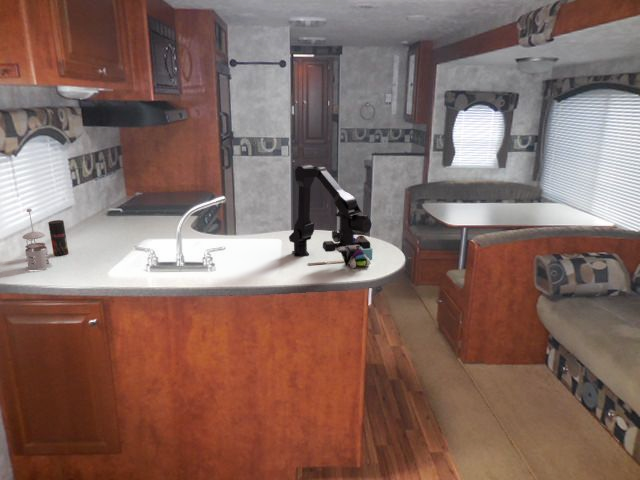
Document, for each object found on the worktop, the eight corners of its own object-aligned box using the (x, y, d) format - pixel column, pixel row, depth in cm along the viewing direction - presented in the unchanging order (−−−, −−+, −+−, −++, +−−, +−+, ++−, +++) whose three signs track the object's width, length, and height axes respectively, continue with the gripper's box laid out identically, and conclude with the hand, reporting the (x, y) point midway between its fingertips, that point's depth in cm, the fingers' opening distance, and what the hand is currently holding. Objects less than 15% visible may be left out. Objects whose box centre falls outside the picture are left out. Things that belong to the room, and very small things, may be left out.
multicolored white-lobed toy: (364, 260, 213) (364, 244, 211) (371, 268, 204) (372, 251, 202) (345, 262, 211) (345, 246, 209) (352, 270, 202) (352, 253, 200)
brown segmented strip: (307, 264, 209) (307, 263, 209) (360, 259, 214) (360, 258, 214) (308, 265, 207) (308, 264, 207) (362, 260, 212) (362, 260, 212)
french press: (31, 273, 200) (20, 212, 193) (20, 267, 207) (9, 208, 200) (56, 267, 207) (46, 208, 200) (45, 261, 214) (35, 204, 207)
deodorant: (68, 255, 222) (63, 222, 218) (53, 257, 219) (48, 224, 215) (68, 251, 227) (63, 219, 223) (53, 253, 224) (48, 221, 220)
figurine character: (333, 249, 233) (366, 247, 230) (331, 233, 231) (364, 231, 228) (335, 245, 239) (367, 243, 236) (333, 230, 237) (365, 227, 234)
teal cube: (359, 256, 218) (359, 246, 217) (369, 255, 219) (369, 246, 218) (362, 259, 214) (362, 249, 213) (372, 259, 215) (372, 249, 214)
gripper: (362, 221, 210) (361, 257, 214) (319, 224, 205) (319, 260, 210) (371, 228, 199) (370, 265, 204) (326, 231, 195) (325, 269, 200)
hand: (346, 264), depth 204 cm, fingers closed
